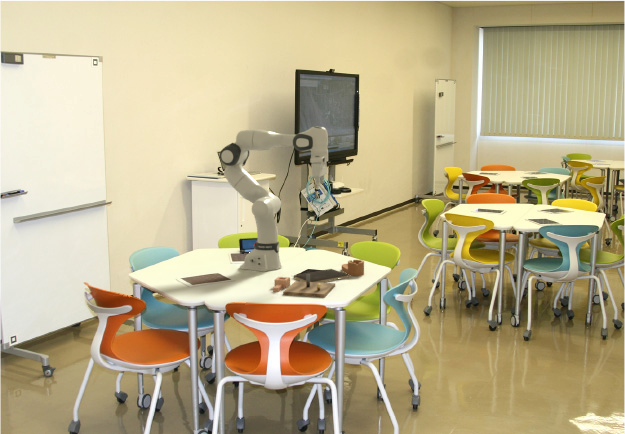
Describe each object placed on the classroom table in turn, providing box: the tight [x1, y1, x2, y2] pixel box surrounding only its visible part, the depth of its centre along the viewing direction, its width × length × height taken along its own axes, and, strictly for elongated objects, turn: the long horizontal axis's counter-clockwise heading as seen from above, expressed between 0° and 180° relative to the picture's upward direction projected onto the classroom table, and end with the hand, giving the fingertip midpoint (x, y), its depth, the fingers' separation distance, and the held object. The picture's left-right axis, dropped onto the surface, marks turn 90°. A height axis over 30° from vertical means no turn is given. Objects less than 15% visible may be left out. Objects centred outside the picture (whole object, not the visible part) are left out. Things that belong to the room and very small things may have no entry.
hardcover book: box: [293, 268, 349, 283], centre depth 359 cm, size 16×23×2 cm
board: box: [282, 280, 336, 298], centre depth 336 cm, size 20×20×2 cm
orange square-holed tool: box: [272, 276, 291, 293], centre depth 340 cm, size 6×13×4 cm, turn 164°
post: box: [306, 274, 310, 287], centre depth 337 cm, size 2×2×6 cm
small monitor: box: [238, 237, 258, 254], centre depth 424 cm, size 12×11×7 cm
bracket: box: [341, 259, 365, 277], centre depth 370 cm, size 18×8×7 cm, turn 17°
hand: (319, 184), depth 366 cm, fingers open, 8 cm apart
